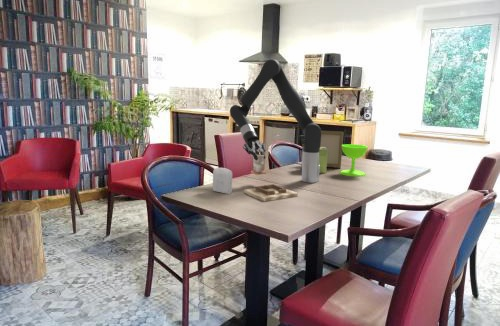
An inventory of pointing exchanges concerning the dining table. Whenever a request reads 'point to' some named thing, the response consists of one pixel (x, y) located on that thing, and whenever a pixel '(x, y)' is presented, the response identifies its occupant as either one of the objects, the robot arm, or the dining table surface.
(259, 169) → the bobbin
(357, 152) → the wineglass
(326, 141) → the photo frame
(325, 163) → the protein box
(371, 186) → the dining table surface
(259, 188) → the cradle board
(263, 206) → the dining table surface
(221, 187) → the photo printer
